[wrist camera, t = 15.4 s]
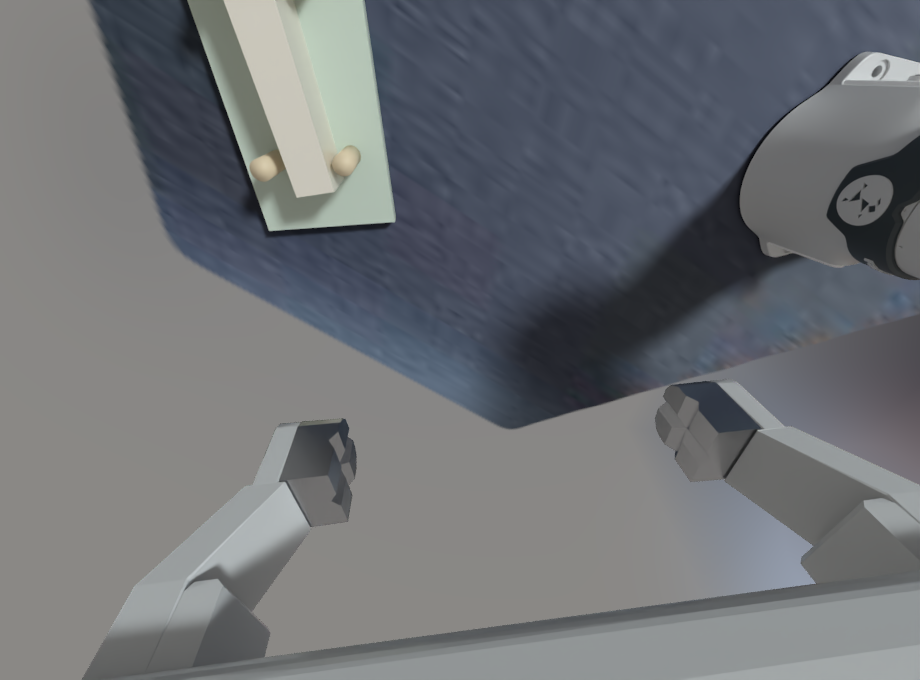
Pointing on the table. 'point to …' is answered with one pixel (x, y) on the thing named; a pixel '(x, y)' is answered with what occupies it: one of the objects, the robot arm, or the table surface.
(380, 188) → the rack
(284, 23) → the off-white rectangular block
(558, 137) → the table surface
